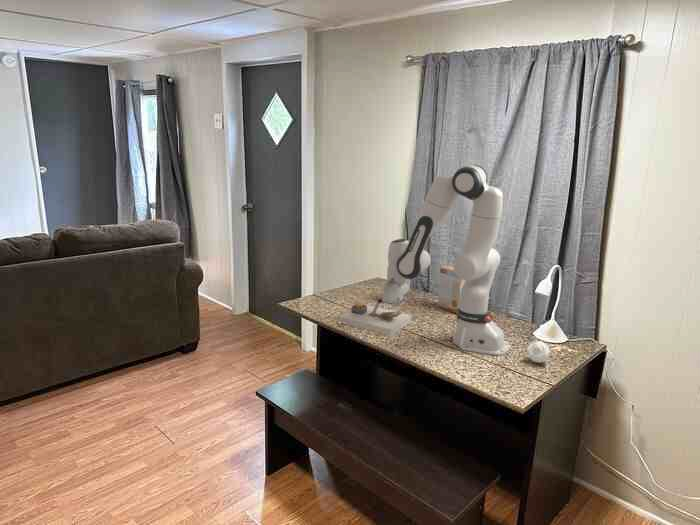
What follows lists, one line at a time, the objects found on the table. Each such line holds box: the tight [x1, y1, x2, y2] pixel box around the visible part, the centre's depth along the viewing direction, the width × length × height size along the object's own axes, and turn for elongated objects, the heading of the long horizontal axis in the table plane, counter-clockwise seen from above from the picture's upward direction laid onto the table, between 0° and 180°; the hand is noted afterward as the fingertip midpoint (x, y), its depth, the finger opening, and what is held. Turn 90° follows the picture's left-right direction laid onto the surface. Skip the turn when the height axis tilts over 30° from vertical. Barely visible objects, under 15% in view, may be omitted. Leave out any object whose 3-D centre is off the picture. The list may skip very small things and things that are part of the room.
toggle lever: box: [372, 298, 383, 314], centre depth 215 cm, size 2×2×8 cm
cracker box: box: [437, 264, 466, 315], centre depth 233 cm, size 14×6×21 cm, turn 34°
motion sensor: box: [526, 340, 551, 364], centre depth 181 cm, size 8×8×8 cm
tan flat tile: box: [378, 311, 402, 318], centre depth 212 cm, size 9×5×1 cm, turn 58°
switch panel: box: [338, 303, 412, 337], centre depth 216 cm, size 26×20×6 cm
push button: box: [355, 301, 364, 308], centre depth 220 cm, size 3×3×2 cm
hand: (395, 306), depth 210 cm, fingers closed
